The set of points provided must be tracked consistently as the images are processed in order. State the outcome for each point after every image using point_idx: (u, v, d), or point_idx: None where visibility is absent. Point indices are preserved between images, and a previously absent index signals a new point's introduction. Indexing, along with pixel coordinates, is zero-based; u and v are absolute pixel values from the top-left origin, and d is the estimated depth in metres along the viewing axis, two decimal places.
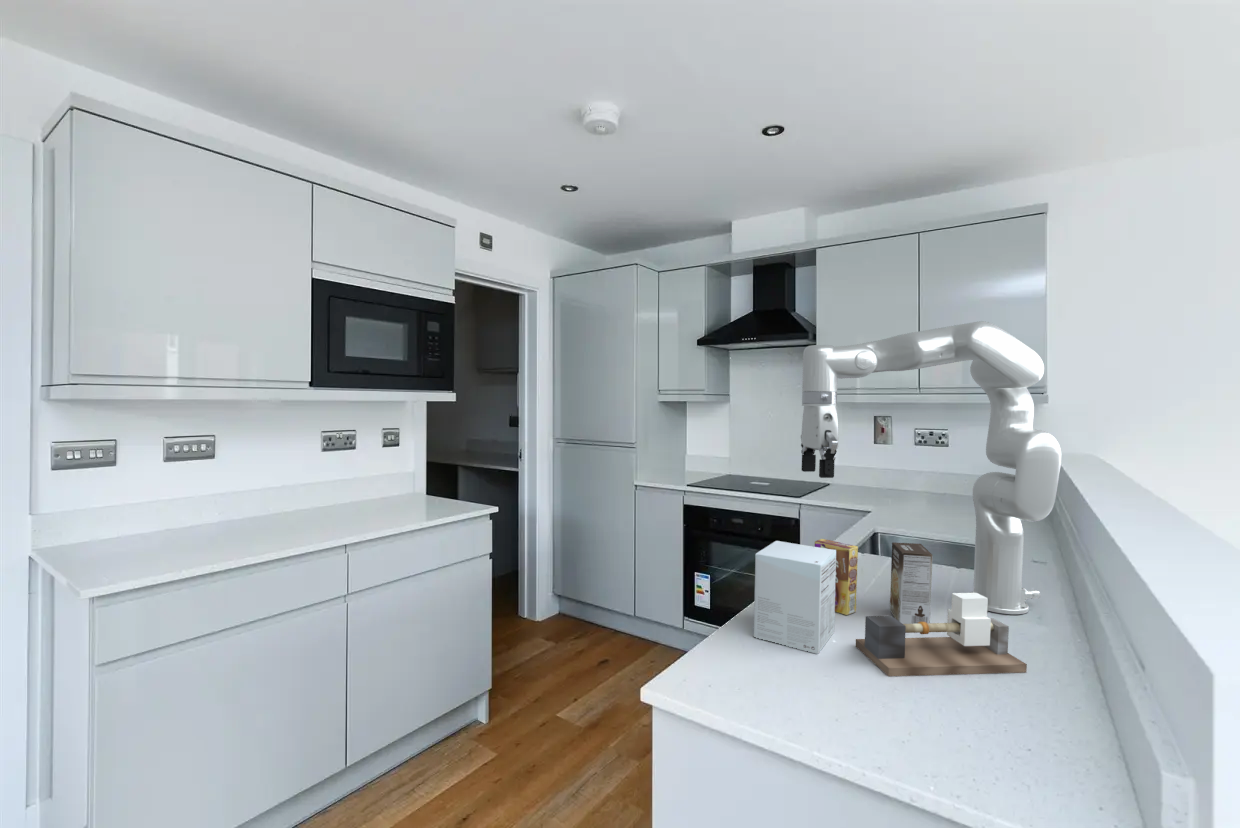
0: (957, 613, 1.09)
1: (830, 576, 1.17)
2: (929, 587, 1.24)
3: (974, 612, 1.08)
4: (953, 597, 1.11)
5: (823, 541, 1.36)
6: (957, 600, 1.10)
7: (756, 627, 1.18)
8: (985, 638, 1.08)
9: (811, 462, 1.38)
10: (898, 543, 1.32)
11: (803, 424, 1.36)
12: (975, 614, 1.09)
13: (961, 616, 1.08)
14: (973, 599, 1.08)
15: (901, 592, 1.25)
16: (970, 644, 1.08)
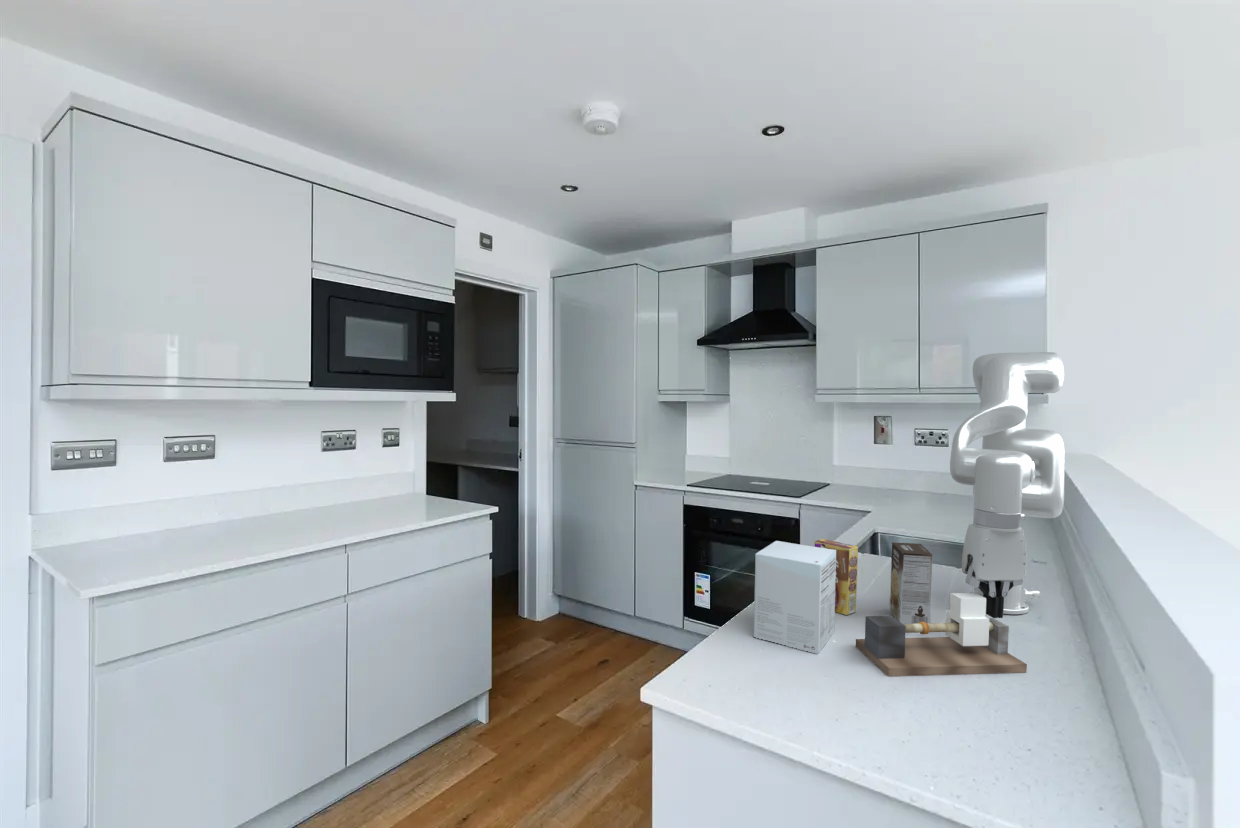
0: (956, 613, 1.09)
1: (830, 576, 1.17)
2: (929, 587, 1.24)
3: (972, 612, 1.08)
4: (952, 597, 1.11)
5: (823, 541, 1.36)
6: (956, 600, 1.10)
7: (756, 627, 1.18)
8: (984, 638, 1.08)
9: None
10: (898, 543, 1.32)
11: (989, 553, 1.07)
12: (974, 614, 1.08)
13: (960, 616, 1.08)
14: (972, 599, 1.08)
15: (901, 592, 1.25)
16: (968, 644, 1.08)
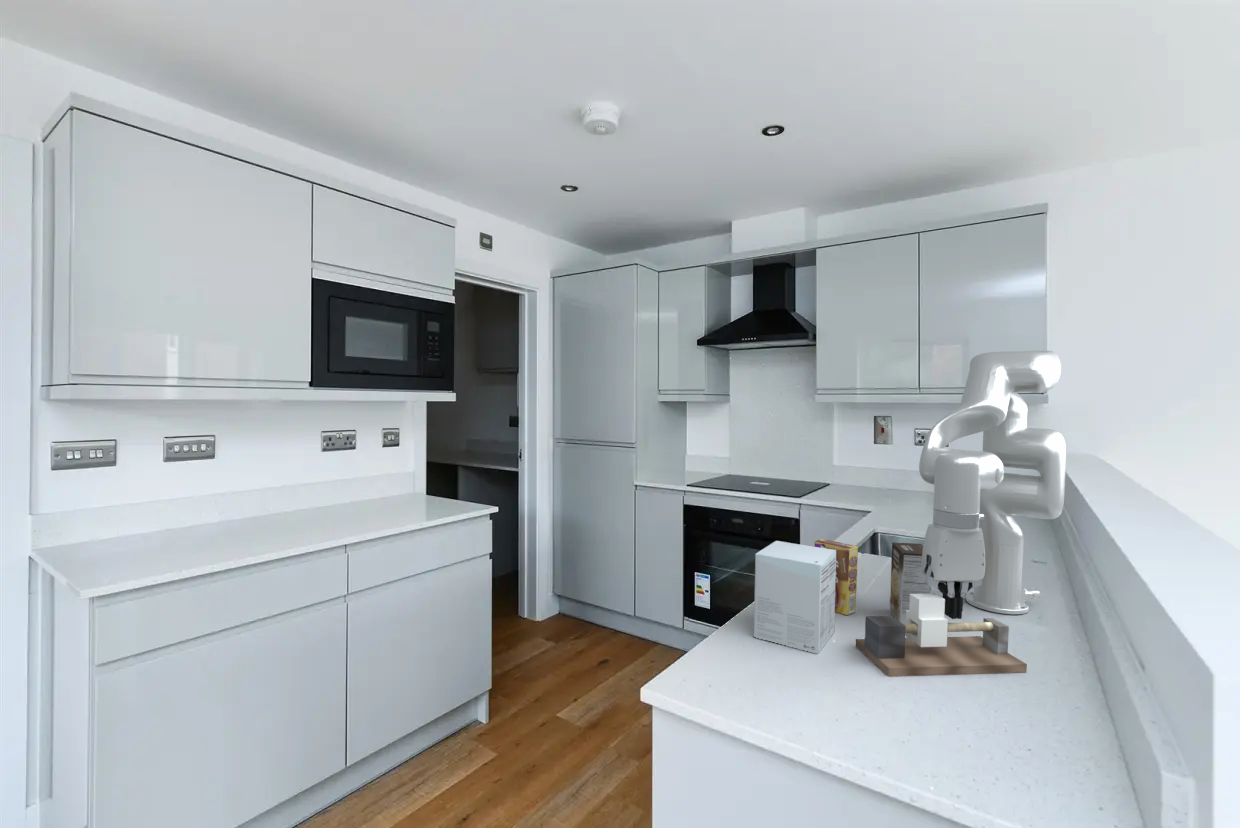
0: (915, 614, 1.09)
1: (830, 576, 1.16)
2: (929, 587, 1.24)
3: (931, 612, 1.08)
4: (911, 598, 1.10)
5: (823, 541, 1.36)
6: (914, 601, 1.09)
7: (756, 627, 1.18)
8: (942, 639, 1.07)
9: None
10: (898, 543, 1.32)
11: (947, 554, 1.07)
12: (932, 615, 1.08)
13: (918, 617, 1.08)
14: (930, 600, 1.08)
15: (901, 592, 1.25)
16: (926, 646, 1.07)
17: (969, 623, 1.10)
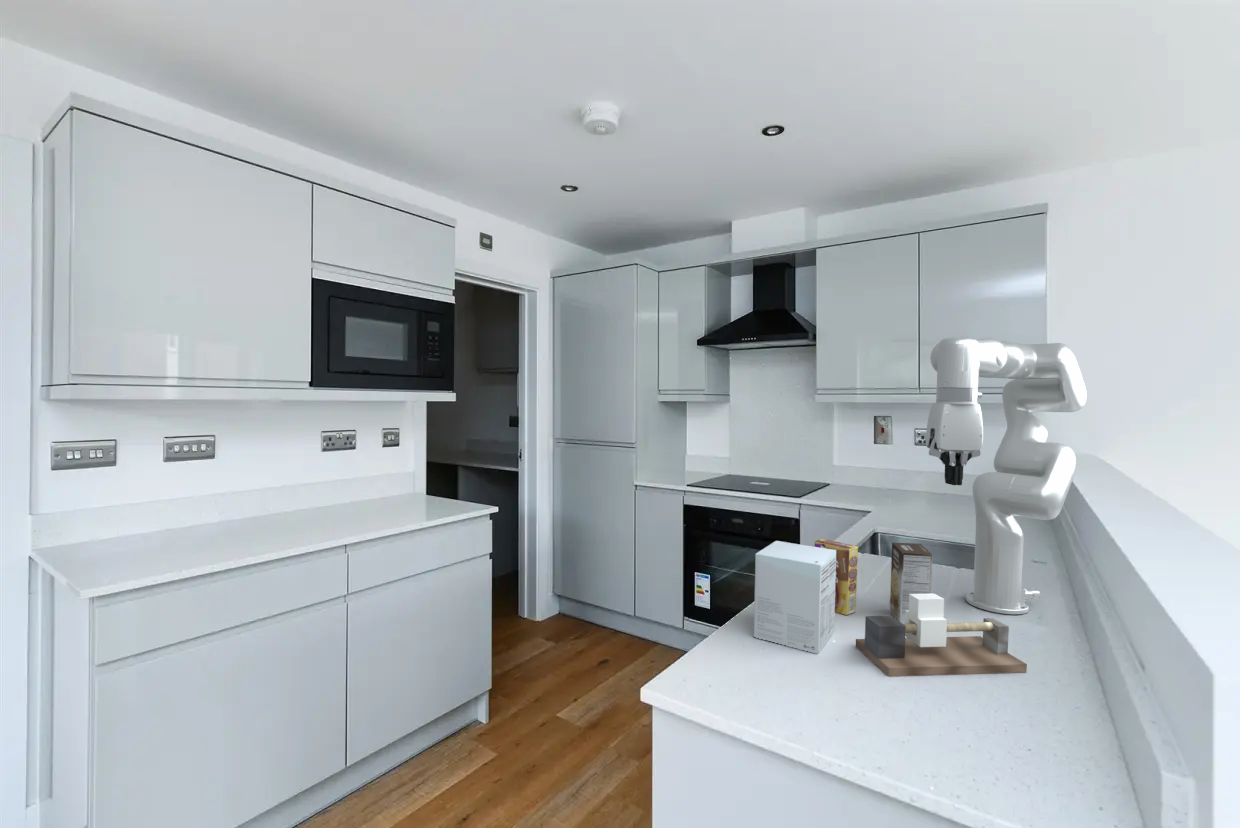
0: (914, 614, 1.09)
1: (830, 576, 1.16)
2: (929, 587, 1.24)
3: (930, 612, 1.08)
4: (910, 598, 1.10)
5: (823, 541, 1.36)
6: (914, 601, 1.09)
7: (756, 627, 1.18)
8: (941, 639, 1.07)
9: None
10: (898, 543, 1.32)
11: (949, 425, 1.19)
12: (931, 615, 1.08)
13: (917, 617, 1.08)
14: (929, 600, 1.08)
15: (901, 591, 1.25)
16: (926, 646, 1.07)
17: (969, 623, 1.10)
